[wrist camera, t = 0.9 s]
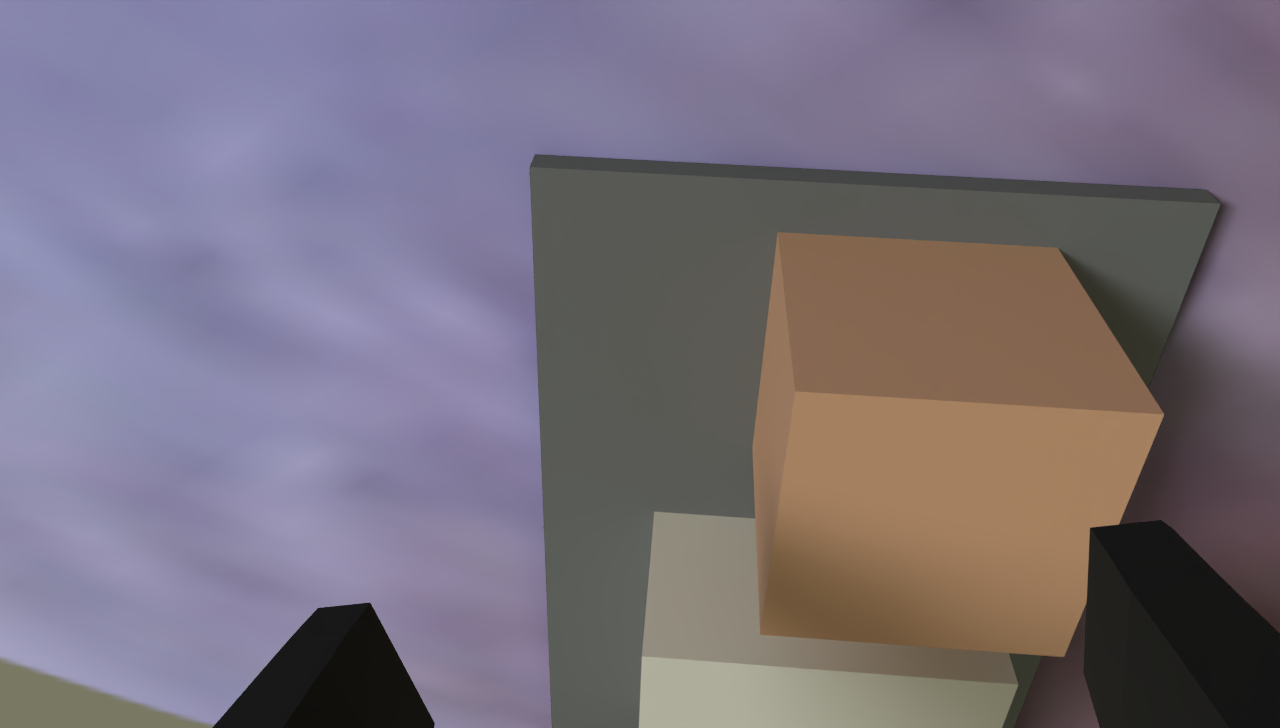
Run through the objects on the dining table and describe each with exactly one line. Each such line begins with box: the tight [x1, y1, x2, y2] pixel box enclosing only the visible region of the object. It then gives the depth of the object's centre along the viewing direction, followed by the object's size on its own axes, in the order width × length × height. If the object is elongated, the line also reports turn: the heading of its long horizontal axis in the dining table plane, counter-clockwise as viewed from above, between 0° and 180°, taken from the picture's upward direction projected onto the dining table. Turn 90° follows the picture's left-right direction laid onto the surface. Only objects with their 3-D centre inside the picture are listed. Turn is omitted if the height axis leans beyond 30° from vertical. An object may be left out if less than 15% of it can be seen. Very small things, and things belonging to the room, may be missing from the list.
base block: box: [639, 512, 1018, 728], centre depth 22 cm, size 7×7×4 cm
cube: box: [752, 232, 1164, 657], centre depth 17 cm, size 5×5×5 cm
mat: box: [530, 155, 1220, 728], centre depth 22 cm, size 12×18×1 cm, turn 179°
